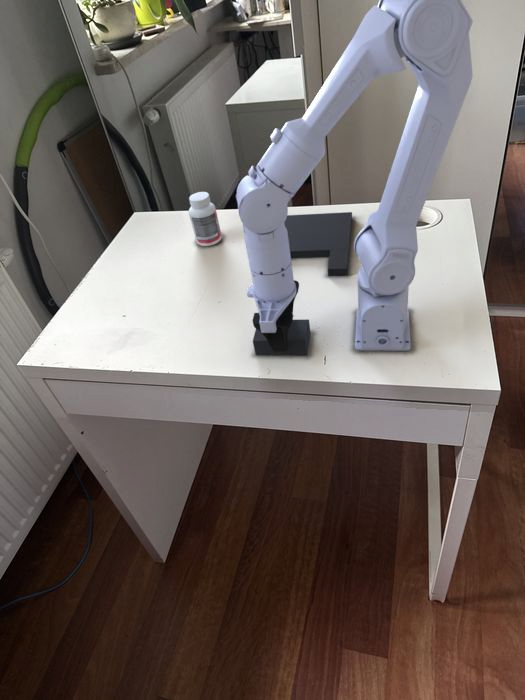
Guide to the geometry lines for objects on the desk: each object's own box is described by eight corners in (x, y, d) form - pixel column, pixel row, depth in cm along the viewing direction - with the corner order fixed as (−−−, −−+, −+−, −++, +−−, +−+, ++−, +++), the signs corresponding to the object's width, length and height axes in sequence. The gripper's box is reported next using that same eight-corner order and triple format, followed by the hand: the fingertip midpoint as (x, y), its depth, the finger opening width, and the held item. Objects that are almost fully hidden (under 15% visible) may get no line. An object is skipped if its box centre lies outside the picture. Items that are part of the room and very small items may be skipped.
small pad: (307, 355, 78) (305, 341, 76) (255, 355, 80) (252, 340, 78) (310, 333, 82) (308, 319, 80) (260, 333, 84) (258, 319, 82)
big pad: (347, 275, 92) (347, 268, 91) (259, 277, 95) (257, 271, 94) (352, 218, 106) (352, 211, 105) (275, 222, 110) (274, 215, 109)
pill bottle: (226, 239, 107) (217, 195, 101) (204, 250, 105) (193, 205, 99) (213, 230, 111) (203, 187, 104) (192, 240, 109) (180, 197, 102)
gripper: (251, 236, 77) (264, 308, 86) (231, 296, 67) (248, 370, 76) (298, 234, 75) (306, 307, 85) (285, 295, 65) (296, 371, 74)
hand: (282, 337), depth 80 cm, fingers closed on small pad, 5 cm apart
